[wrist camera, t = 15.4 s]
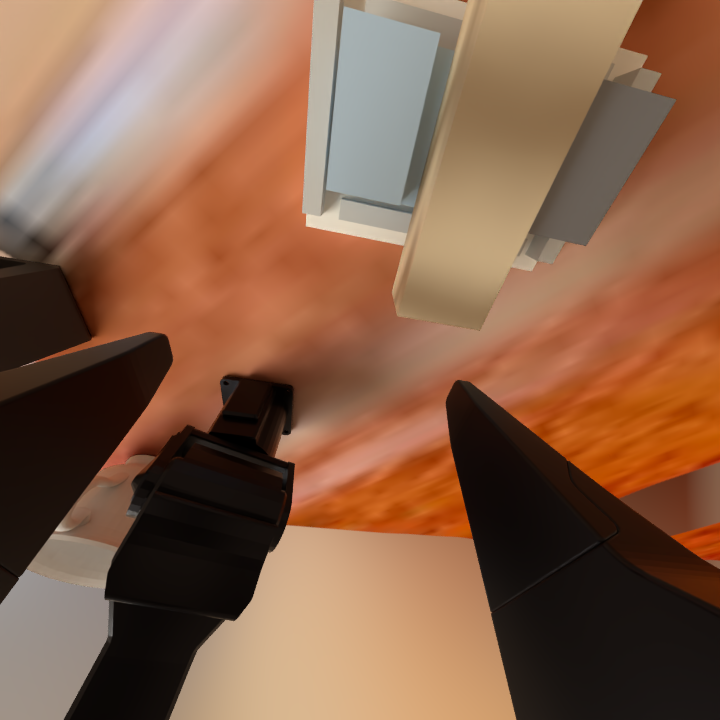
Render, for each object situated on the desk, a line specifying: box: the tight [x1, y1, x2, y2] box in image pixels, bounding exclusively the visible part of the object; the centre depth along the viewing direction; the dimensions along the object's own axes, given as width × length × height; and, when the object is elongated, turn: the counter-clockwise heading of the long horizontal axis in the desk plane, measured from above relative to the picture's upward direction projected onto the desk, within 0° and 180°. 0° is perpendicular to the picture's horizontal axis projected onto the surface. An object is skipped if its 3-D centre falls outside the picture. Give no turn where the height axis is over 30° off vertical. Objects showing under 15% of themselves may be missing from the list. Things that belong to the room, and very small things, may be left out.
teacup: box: [27, 455, 155, 588], centre depth 28 cm, size 12×15×10 cm
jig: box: [302, 0, 662, 271], centre depth 14 cm, size 15×10×2 cm, turn 80°
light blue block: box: [326, 6, 676, 246], centre depth 13 cm, size 12×5×5 cm, turn 80°
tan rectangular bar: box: [392, 0, 643, 331], centre depth 10 cm, size 14×4×3 cm, turn 170°
